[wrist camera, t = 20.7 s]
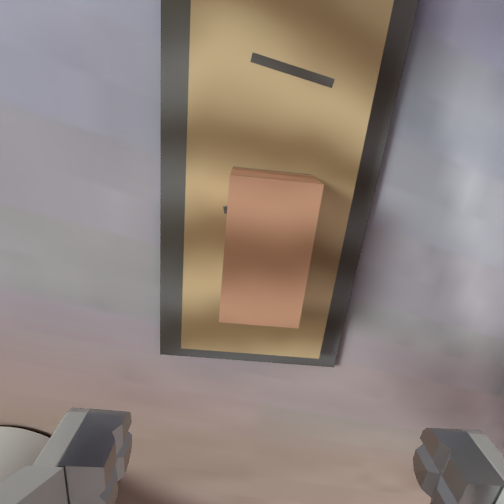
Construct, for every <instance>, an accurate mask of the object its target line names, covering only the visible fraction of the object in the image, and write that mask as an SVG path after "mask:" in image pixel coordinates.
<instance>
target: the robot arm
mask: <svg viewBox="0 0 504 504" xmlns="http://www.w3.org/2000/svg"><path fill="white" fill-rule="evenodd" d="M130 425H131V413H130V412H125V411H113V410H101V409H85V408H71V409H70V410H69V411H68V412H66V414H65V416H64V417H63V419H62V420H61V422H60V423H59V425H58V426H57V428H56V430H55V431H54V433H53V434H52V436H51V437H50V438H49V437H46V436H44V435H42V434H39V433H36V432H33V431H29V430H25V429H20V428H14V427H2V426H0V504H115V501H116V498H117V496H118V481H119V480H120V479H121V478H122V477H123V476H124V475H125V472H126V469H127V466H128V463H129V459H130V454H131V448H132V435H131V434H130V432H129V431H128V430H129V428H130ZM420 439H421V441H422V442H423V444H422V445H421V446H420V447H419V448H417V449H416V451H415V454H414V457H413V465H414V472H415V475H416V479H417V481H418V483H419V485H420V487H421V489H422V490H423V491H425V492H426V493H427V494H428V495H429V496H430V497H431V503H430V504H504V456H503V455H502V454H501V453H500V451H499V450H498V449H497V448H496V447H495V445H494V444H493V443H492V442H491V440H490V439H489V438H488V437H487V435H486V434H484V433H483V432H481V431H480V430H463V429H462V430H460V429H443V428H426V429H425V430H423V432H422V434H421V437H420Z"/></svg>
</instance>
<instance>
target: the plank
mask: <svg viewBox="0 0 504 504" xmlns="http://www.w3.org/2000/svg"><path fill="white" fill-rule="evenodd" d="M418 2H419V0H161V275H160V354H164V355H178V356H191V357H205V358H218V359H232V360H245V361H258V362H272V363H285V364H299V365H312V366H326V367H334V365H335V360H336V356H337V352H338V348H339V343H340V339H341V335H342V330H343V326H344V322H345V317H346V313H347V309H348V304H349V300H350V296H351V291H352V287H353V283H354V278H355V274H356V270H357V265H358V261H359V257H360V252H361V248H362V244H363V240H364V235H365V231H366V227H367V222H368V218H369V214H370V209H371V205H372V201H373V196H374V192H375V188H376V183H377V179H378V175H379V170H380V166H381V162H382V157H383V153H384V149H385V144H386V140H387V136H388V131H389V127H390V123H391V119H392V114H393V110H394V106H395V101H396V97H397V93H398V88H399V84H400V80H401V75H402V71H403V67H404V62H405V58H406V54H407V49H408V45H409V41H410V36H411V32H412V28H413V23H414V19H415V15H416V10H417V6H418ZM233 167H243V168H253V169H262V170H272V171H282V172H292V173H302V174H311V175H312V176H313V177H315V178H316V179H317V180H319V181H320V182H321V183H323V184H324V187H323V193H322V198H321V204H320V210H319V215H318V221H317V227H316V232H315V238H314V244H313V249H312V255H311V261H310V266H309V272H308V278H307V283H306V289H305V295H304V300H303V306H302V312H301V317H300V323H299V329H297V328H285V327H272V326H260V325H247V324H234V323H222V322H219V312H220V298H221V285H222V272H223V259H224V245H225V232H226V219H227V205H228V192H229V179H230V173H231V171H232V168H233Z"/></svg>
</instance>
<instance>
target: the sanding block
mask: <svg viewBox="0 0 504 504" xmlns="http://www.w3.org/2000/svg"><path fill="white" fill-rule="evenodd" d="M323 187H324V184H323V183H321V182H320V181H319V180H317V179H316V178H315V177H313V176H312V175H311V174H302V173H292V172H282V171H272V170H262V169H253V168H243V167H233V168H232V171H231V173H230V179H229V192H228V205H227V219H226V232H225V245H224V259H223V272H222V285H221V298H220V312H219V322H222V323H234V324H247V325H260V326H272V327H285V328H297V329H299V323H300V317H301V312H302V306H303V300H304V295H305V289H306V283H307V278H308V272H309V266H310V261H311V255H312V249H313V244H314V238H315V232H316V227H317V221H318V215H319V210H320V204H321V198H322V193H323Z"/></svg>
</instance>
